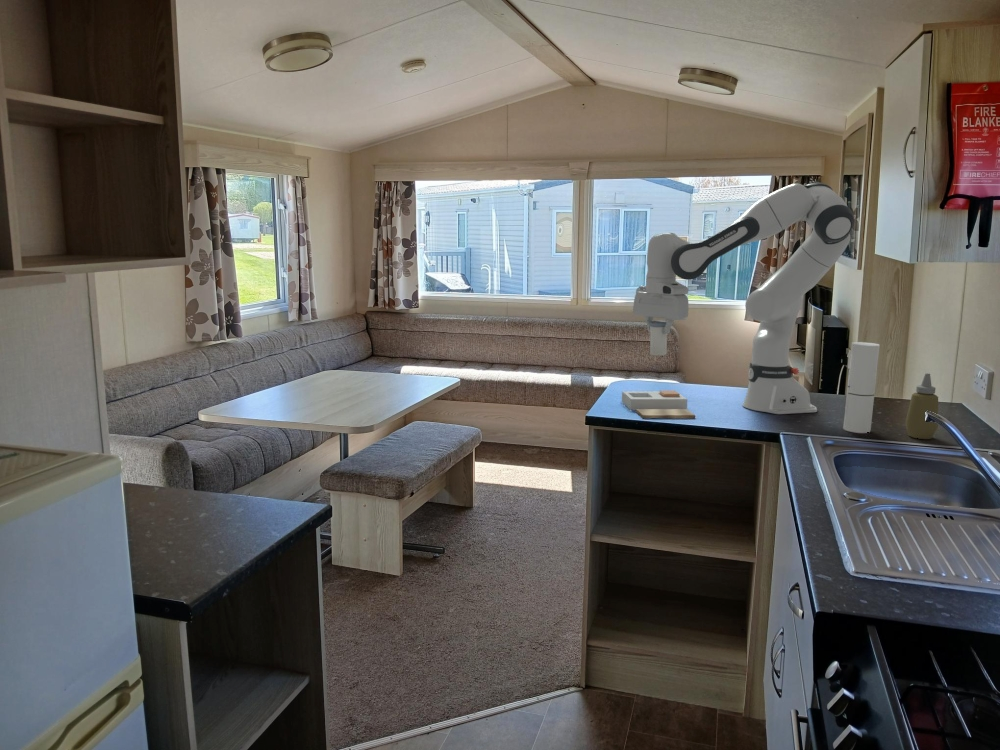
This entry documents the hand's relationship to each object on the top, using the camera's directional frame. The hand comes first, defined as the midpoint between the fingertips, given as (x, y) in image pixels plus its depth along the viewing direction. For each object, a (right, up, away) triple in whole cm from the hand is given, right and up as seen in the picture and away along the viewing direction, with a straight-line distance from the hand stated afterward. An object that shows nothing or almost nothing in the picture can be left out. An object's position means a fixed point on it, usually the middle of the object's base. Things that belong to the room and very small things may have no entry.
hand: (658, 332), depth 237 cm
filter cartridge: (0, -7, +2) cm, 7 cm away
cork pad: (+2, -25, -1) cm, 25 cm away
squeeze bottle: (+69, -31, -21) cm, 78 cm away
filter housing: (+1, -23, +12) cm, 26 cm away
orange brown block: (+6, -22, +12) cm, 26 cm away
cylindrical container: (+54, -29, -14) cm, 63 cm away
